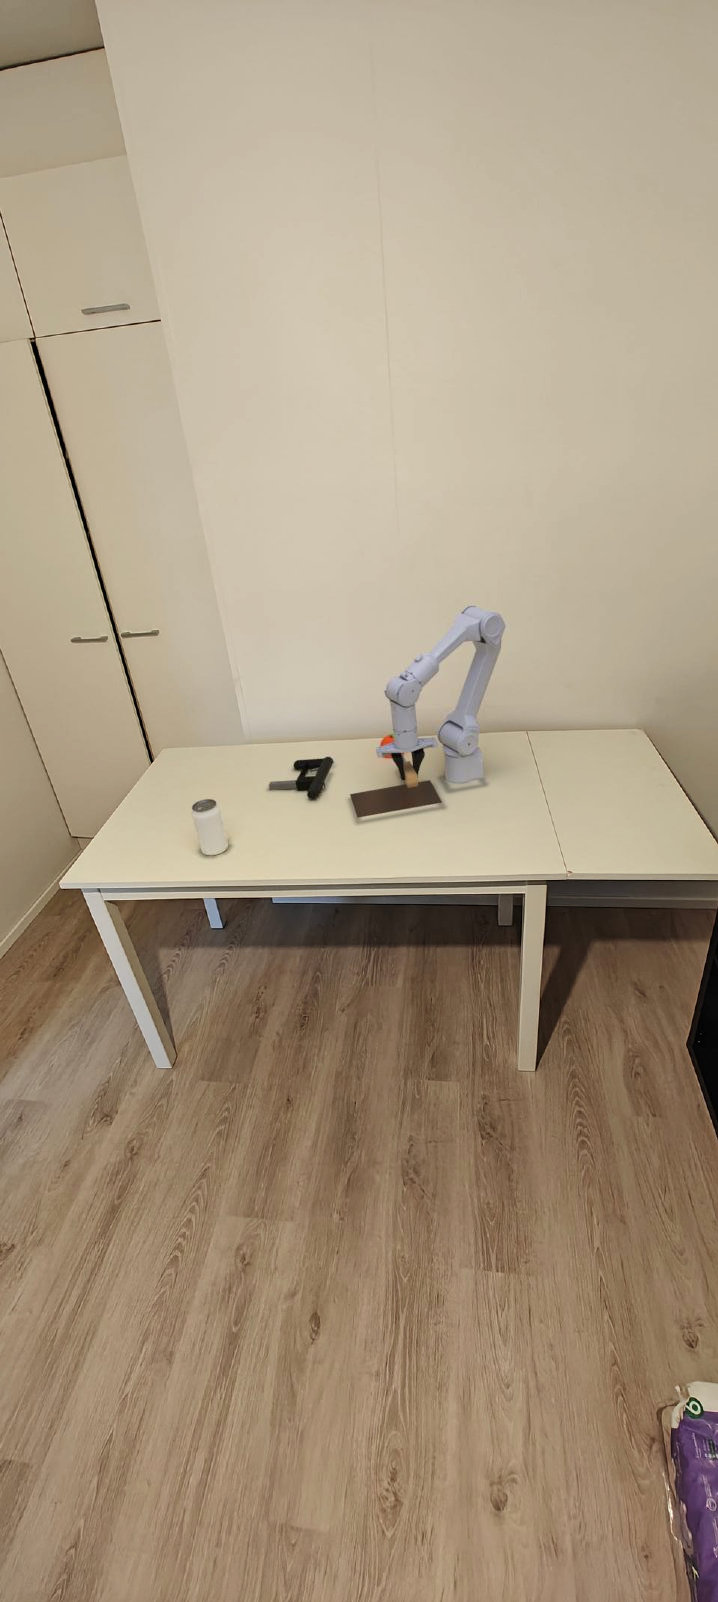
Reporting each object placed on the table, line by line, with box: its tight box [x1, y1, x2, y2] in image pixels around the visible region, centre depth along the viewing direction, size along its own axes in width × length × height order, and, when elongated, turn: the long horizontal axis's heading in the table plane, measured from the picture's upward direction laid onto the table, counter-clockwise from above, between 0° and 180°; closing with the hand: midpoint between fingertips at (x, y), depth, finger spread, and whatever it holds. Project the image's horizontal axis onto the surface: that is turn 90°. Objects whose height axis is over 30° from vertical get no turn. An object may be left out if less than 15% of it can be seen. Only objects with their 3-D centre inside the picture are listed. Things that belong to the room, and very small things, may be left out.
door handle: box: [268, 756, 335, 800], centre depth 192 cm, size 3×20×16 cm
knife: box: [402, 753, 419, 788], centre depth 178 cm, size 18×3×3 cm, turn 9°
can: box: [191, 798, 229, 857], centre depth 165 cm, size 6×6×12 cm
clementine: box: [379, 733, 404, 759], centre depth 197 cm, size 8×7×7 cm
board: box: [349, 779, 443, 819], centre depth 177 cm, size 21×12×2 cm, turn 99°
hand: (409, 777), depth 174 cm, fingers closed on knife, 2 cm apart
